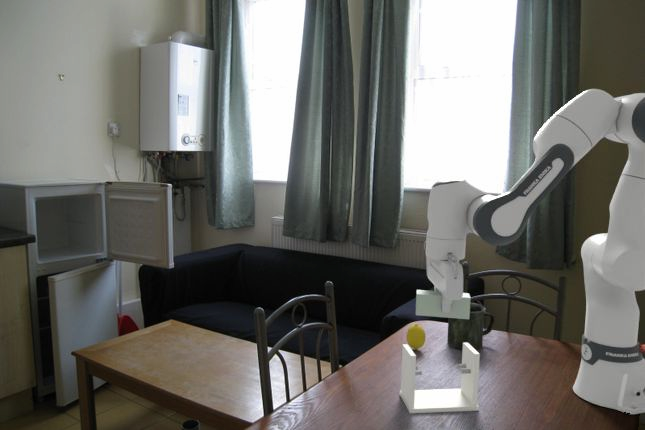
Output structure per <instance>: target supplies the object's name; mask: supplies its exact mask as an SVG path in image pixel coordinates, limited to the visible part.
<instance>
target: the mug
mask: <svg viewBox="0 0 645 430" xmlns="http://www.w3.org/2000/svg"><path fill="white" fill-rule="evenodd" d="M486 310H487V309H486V307H485V306H483V304H478V303H475V302H470V316H469V319H458V318H447V320H448V322H447V343H448V345H449V346H450V347H452V348H454V349H458V350H462V351H463V343H469V344H470V345H471V346H472V347H473V348H474V349H475V350H476V351H477V350H478V349H481V348H482V346H483V340H484V339H483V338H484V337H485V336H486V335H488V334H490V333H491V332H492V331H493V328H494V325H495V317H494V316H493V314H492V313H491V312H486ZM484 317H489V320H490V322H489V324H488V327H487V328H486V329H485V330H484V320H485V318H484Z"/></svg>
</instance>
